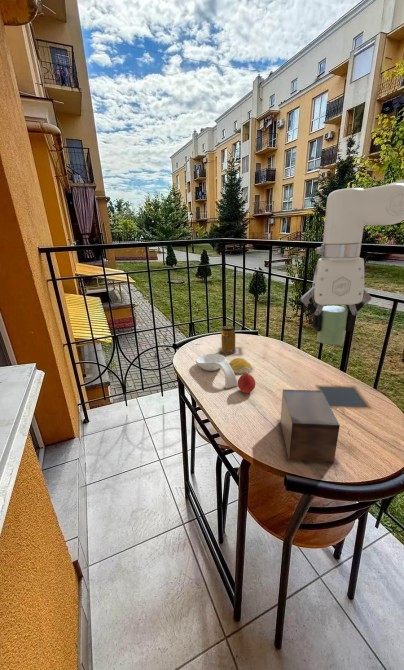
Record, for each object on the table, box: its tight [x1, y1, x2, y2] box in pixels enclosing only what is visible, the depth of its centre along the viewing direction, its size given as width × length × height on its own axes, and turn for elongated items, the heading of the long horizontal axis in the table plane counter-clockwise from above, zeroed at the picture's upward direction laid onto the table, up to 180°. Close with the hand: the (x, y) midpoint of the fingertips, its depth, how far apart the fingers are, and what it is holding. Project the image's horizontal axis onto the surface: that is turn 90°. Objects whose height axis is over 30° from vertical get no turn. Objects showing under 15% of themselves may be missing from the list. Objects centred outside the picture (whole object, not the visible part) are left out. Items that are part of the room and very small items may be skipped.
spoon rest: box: [195, 353, 238, 389], centre depth 106 cm, size 24×12×7 cm, turn 24°
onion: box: [237, 372, 256, 394], centre depth 92 cm, size 6×6×8 cm
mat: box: [319, 386, 368, 408], centre depth 89 cm, size 11×11×1 cm
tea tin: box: [316, 305, 348, 346], centre depth 67 cm, size 6×6×8 cm
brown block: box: [279, 389, 341, 464], centre depth 69 cm, size 10×14×11 cm
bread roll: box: [228, 357, 252, 375], centre depth 109 cm, size 8×9×4 cm
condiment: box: [221, 325, 236, 355], centre depth 123 cm, size 7×8×12 cm
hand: (331, 328), depth 67 cm, fingers closed on tea tin, 6 cm apart
